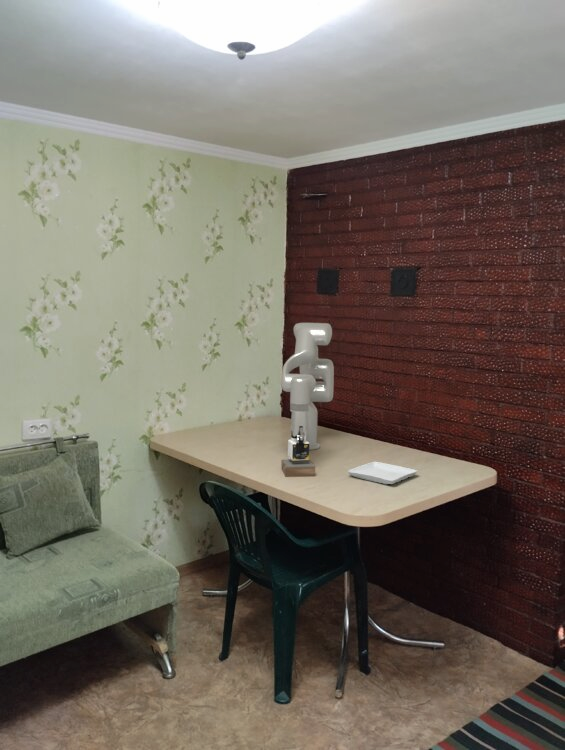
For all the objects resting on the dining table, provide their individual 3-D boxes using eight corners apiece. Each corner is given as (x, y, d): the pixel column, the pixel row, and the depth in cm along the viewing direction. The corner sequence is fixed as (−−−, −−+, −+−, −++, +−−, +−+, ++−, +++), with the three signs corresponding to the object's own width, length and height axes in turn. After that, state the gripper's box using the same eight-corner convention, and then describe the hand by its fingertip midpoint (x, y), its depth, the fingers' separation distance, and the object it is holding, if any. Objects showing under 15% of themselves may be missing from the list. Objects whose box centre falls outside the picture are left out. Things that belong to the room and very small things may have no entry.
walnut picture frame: (281, 468, 266) (281, 459, 266) (309, 468, 268) (309, 458, 268) (285, 476, 255) (285, 467, 254) (315, 476, 256) (315, 466, 256)
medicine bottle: (292, 460, 256) (292, 431, 255) (287, 456, 263) (288, 427, 262) (309, 460, 258) (310, 430, 257) (303, 455, 265) (304, 427, 263)
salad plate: (373, 467, 272) (373, 460, 271) (418, 477, 259) (419, 469, 258) (345, 478, 256) (345, 470, 255) (392, 489, 242) (392, 480, 242)
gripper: (287, 403, 266) (286, 445, 268) (293, 411, 249) (292, 455, 251) (304, 403, 267) (303, 444, 269) (312, 411, 250) (311, 455, 252)
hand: (298, 449), depth 260 cm, fingers closed on medicine bottle, 7 cm apart
